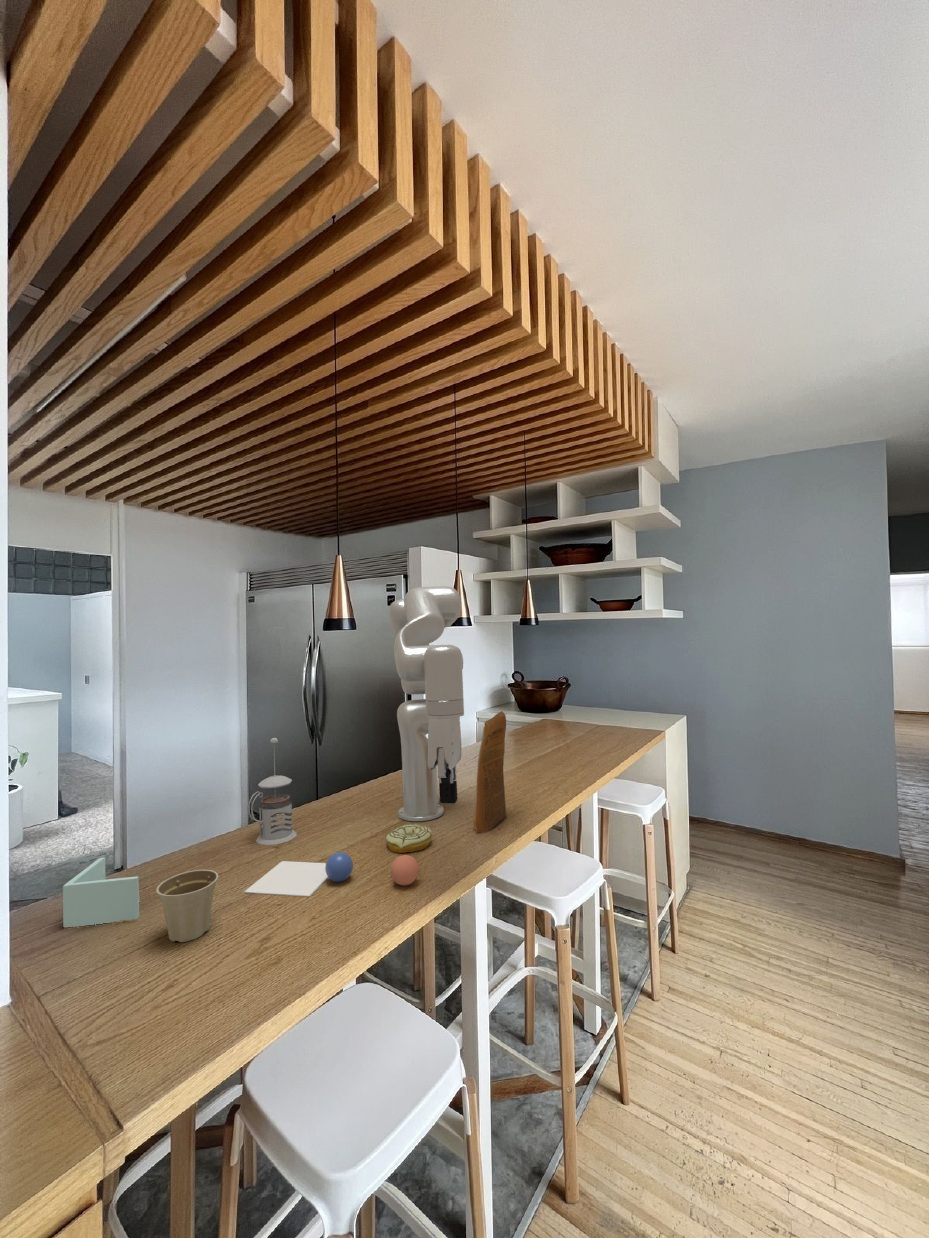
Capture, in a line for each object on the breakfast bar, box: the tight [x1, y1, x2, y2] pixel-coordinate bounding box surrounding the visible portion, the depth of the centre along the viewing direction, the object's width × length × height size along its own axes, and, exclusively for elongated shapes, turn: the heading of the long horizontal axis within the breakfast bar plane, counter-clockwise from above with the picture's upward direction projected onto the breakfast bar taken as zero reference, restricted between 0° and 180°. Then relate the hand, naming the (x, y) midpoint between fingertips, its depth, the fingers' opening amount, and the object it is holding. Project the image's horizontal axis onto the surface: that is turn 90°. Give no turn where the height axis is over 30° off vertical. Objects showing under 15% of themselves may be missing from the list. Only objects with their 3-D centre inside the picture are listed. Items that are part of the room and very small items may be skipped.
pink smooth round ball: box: [390, 854, 420, 886], centre depth 104 cm, size 6×6×6 cm
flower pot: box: [155, 869, 219, 943], centre depth 89 cm, size 9×9×9 cm
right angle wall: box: [62, 857, 141, 928], centre depth 99 cm, size 12×12×8 cm
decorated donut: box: [385, 823, 433, 854], centre depth 123 cm, size 10×11×4 cm
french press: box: [247, 737, 298, 846], centre depth 131 cm, size 10×12×25 cm
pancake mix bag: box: [473, 710, 507, 834], centre depth 136 cm, size 7×19×28 cm, turn 153°
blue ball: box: [325, 851, 354, 883], centre depth 106 cm, size 6×6×6 cm
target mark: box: [243, 860, 329, 898], centre depth 108 cm, size 14×14×1 cm
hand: (448, 801), depth 102 cm, fingers closed
